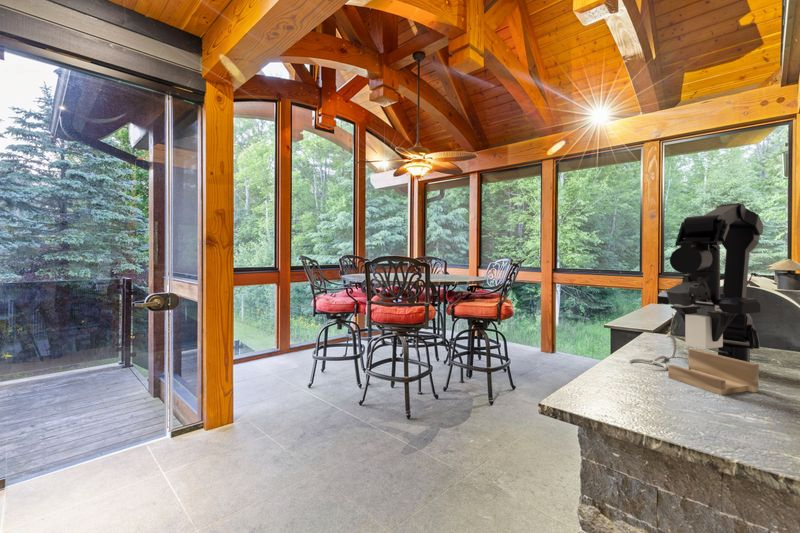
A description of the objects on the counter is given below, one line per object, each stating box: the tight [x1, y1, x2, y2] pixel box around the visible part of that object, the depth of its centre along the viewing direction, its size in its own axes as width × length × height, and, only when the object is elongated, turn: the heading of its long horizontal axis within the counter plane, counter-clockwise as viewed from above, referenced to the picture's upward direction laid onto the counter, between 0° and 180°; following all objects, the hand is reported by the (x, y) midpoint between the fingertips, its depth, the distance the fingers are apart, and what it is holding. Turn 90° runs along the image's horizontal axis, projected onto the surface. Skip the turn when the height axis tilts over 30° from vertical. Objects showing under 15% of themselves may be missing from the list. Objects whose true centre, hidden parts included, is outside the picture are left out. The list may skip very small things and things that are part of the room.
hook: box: [627, 334, 677, 372], centre depth 104 cm, size 7×9×20 cm
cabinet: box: [684, 308, 723, 350], centre depth 85 cm, size 5×4×8 cm
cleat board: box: [667, 348, 760, 396], centre depth 87 cm, size 9×14×6 cm, turn 14°
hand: (703, 339), depth 85 cm, fingers closed on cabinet, 4 cm apart
